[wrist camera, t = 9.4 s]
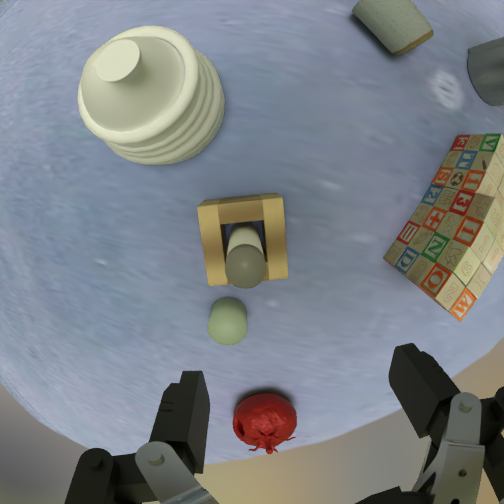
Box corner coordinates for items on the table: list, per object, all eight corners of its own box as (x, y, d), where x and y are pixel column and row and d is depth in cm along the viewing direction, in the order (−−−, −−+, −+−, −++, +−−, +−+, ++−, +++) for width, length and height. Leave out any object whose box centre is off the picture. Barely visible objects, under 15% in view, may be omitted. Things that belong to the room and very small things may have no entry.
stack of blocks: (456, 133, 29) (519, 132, 17) (478, 163, 30) (539, 171, 18) (381, 258, 34) (435, 300, 22) (409, 281, 35) (461, 324, 23)
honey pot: (243, 76, 27) (245, -14, 10) (198, 180, 30) (144, 199, 13) (143, 49, 25) (69, -25, 8) (101, 146, 29) (-9, 143, 11)
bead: (208, 298, 34) (204, 314, 31) (244, 295, 34) (244, 310, 31) (214, 328, 36) (211, 346, 32) (248, 325, 36) (248, 343, 32)
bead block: (204, 200, 31) (197, 207, 26) (276, 192, 31) (282, 197, 26) (213, 268, 33) (208, 286, 29) (281, 261, 33) (288, 277, 29)
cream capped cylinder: (229, 220, 32) (222, 251, 20) (256, 217, 32) (264, 247, 20) (232, 246, 33) (227, 290, 21) (258, 243, 33) (267, 286, 21)
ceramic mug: (387, 65, 26) (420, 46, 19) (343, 18, 24) (366, -11, 17) (426, 36, 25) (457, 19, 17) (387, -6, 23) (412, -29, 15)
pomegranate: (279, 375, 39) (288, 421, 30) (302, 412, 41) (313, 454, 32) (220, 397, 40) (217, 443, 31) (249, 430, 42) (252, 472, 33)
